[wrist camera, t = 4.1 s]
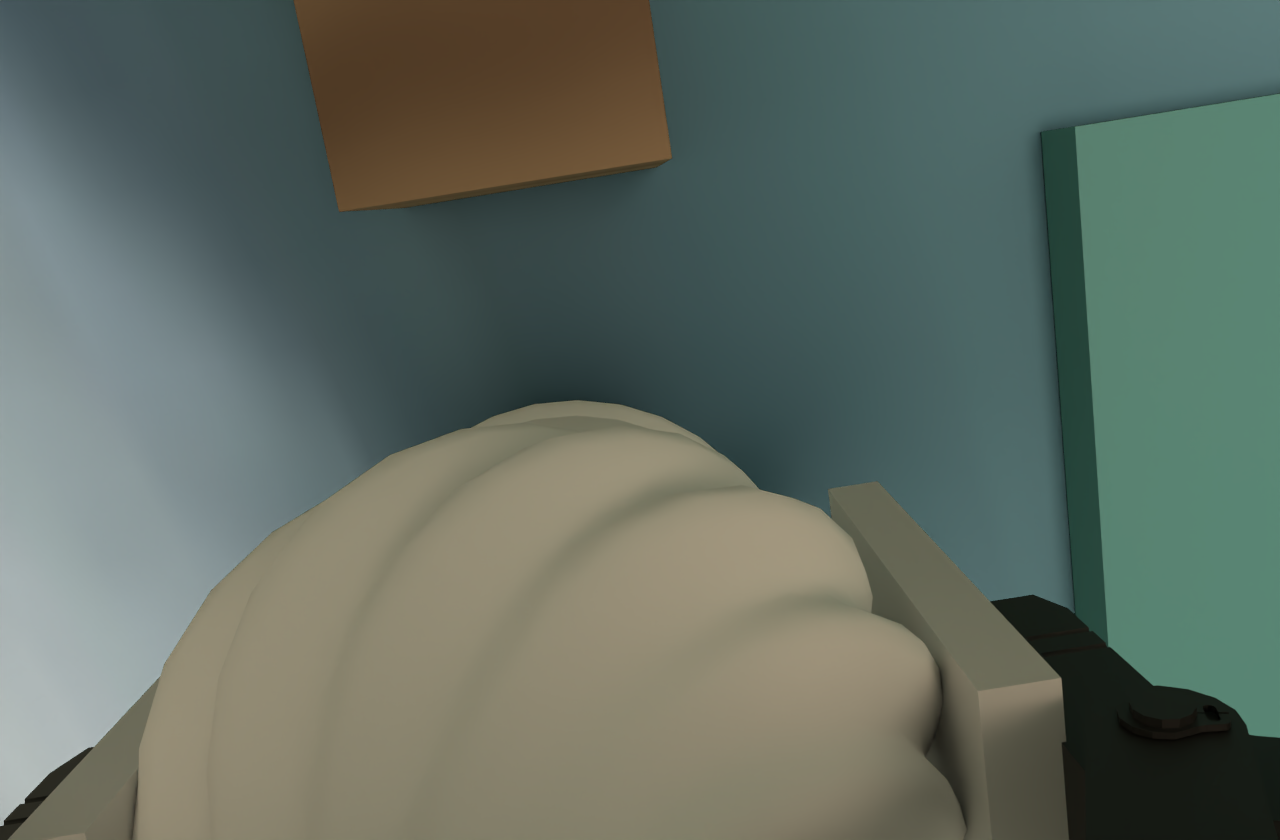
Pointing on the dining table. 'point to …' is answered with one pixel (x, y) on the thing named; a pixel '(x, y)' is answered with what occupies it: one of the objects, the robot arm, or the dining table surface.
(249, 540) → the dining table surface
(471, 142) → the walnut cube
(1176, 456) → the teal board
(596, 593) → the soft serve ice cream cone
